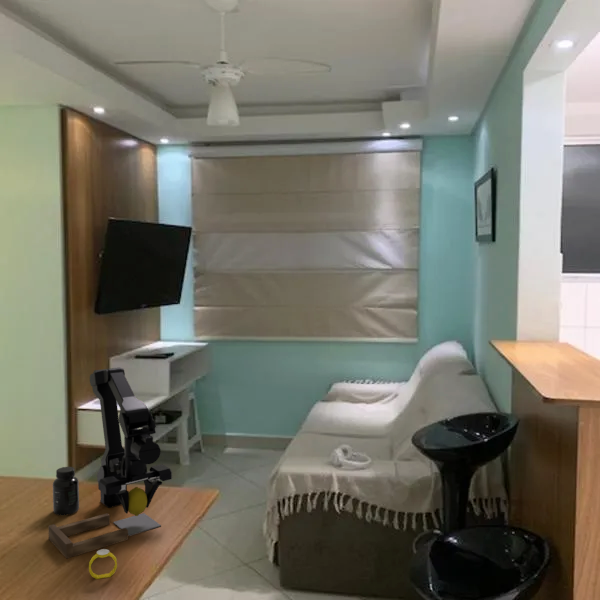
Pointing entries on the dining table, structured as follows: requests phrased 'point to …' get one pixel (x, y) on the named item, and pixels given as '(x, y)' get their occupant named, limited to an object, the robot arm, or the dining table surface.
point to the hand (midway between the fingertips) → (136, 510)
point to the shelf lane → (72, 549)
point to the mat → (137, 524)
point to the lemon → (137, 501)
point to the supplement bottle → (65, 492)
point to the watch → (102, 554)
